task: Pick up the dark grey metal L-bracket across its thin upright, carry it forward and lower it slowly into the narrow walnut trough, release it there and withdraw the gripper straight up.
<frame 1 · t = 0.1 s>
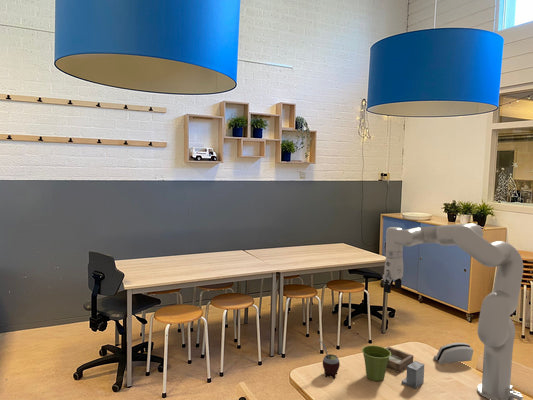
hand: (392, 290, 186), 31 cm above the table, fingers open, 9 cm apart
bracket: (414, 384, 164), on the table
mate gourd: (329, 375, 170), on the table
trough: (393, 362, 181), on the table
grey rounded block: (453, 361, 183), on the table
plant pot: (375, 377, 169), on the table
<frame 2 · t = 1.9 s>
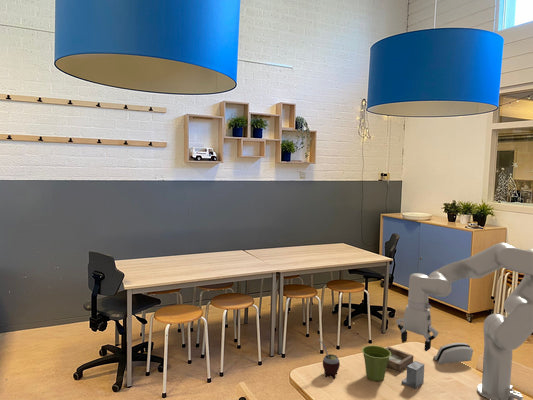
hand: (415, 345, 162), 16 cm above the table, fingers open, 9 cm apart
nothing on the table moved.
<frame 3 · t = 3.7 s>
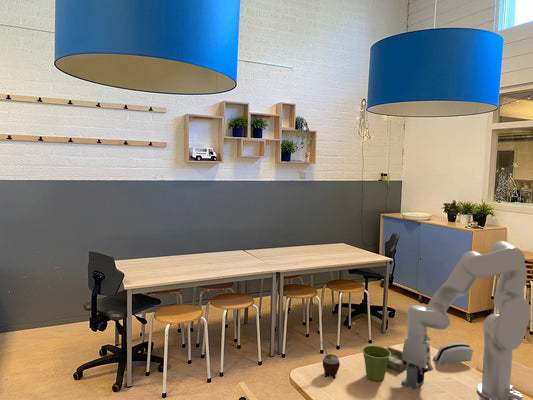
hand: (415, 379, 163), 2 cm above the table, fingers closed on bracket, 4 cm apart
bracket: (414, 384, 164), on the table, touching gripper
everything else where it was.
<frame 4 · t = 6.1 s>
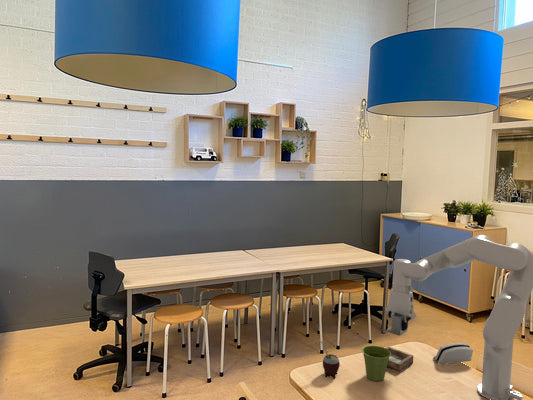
hand: (399, 327, 176), 18 cm above the table, fingers closed on bracket, 4 cm apart
bracket: (399, 332, 176), point 16 cm above the table, touching gripper
everything else where it was.
when the fingers open (4 cm above the table, at t = 8.3 s): bracket drops 1 cm, resting on trough.
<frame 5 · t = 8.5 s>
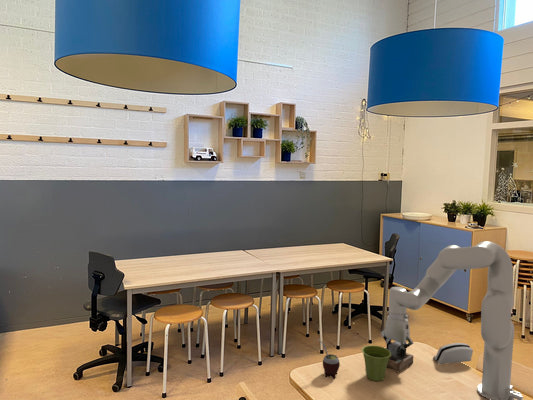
hand: (396, 353, 180), 5 cm above the table, fingers open, 6 cm apart
bracket: (396, 361, 180), point 1 cm above the table, touching trough
everything else where it was.
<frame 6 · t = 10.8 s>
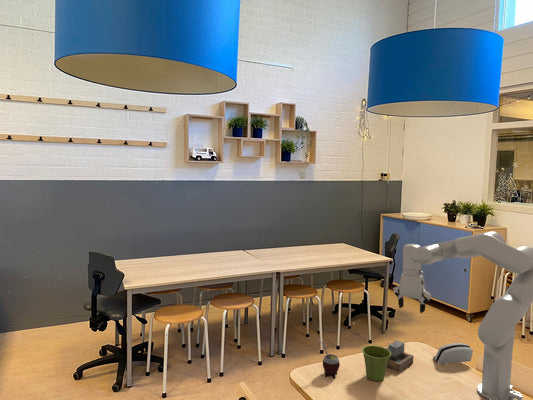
hand: (411, 309, 180), 25 cm above the table, fingers open, 9 cm apart
nothing on the table moved.
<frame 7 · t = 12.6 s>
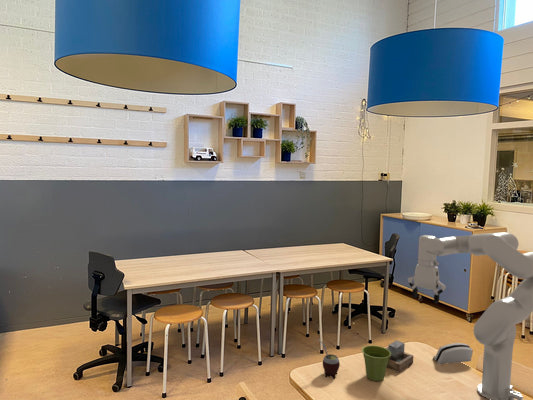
hand: (425, 300, 181), 28 cm above the table, fingers open, 9 cm apart
nothing on the table moved.
at the end: bracket 1.2 cm from the trough (horizontally); bracket point 1.1 cm above the table; bracket tilted 0° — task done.
